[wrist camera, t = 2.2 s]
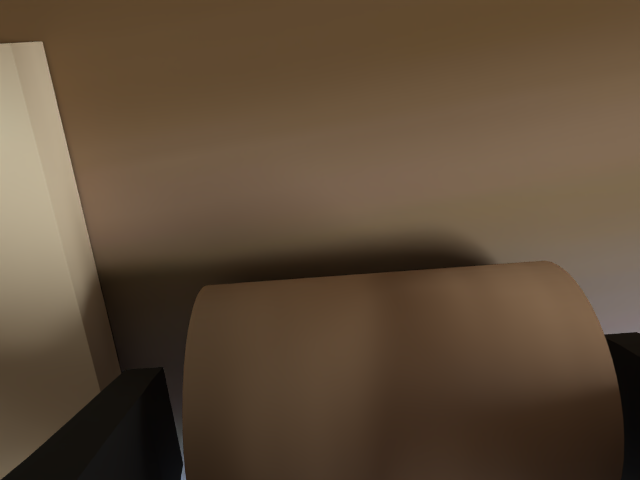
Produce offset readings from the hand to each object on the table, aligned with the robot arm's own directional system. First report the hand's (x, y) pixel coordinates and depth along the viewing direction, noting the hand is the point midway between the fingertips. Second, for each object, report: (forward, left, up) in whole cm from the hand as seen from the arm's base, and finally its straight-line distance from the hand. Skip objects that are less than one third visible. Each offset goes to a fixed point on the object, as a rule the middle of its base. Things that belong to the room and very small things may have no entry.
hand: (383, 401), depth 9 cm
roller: (0, 0, -2) cm, 2 cm away
